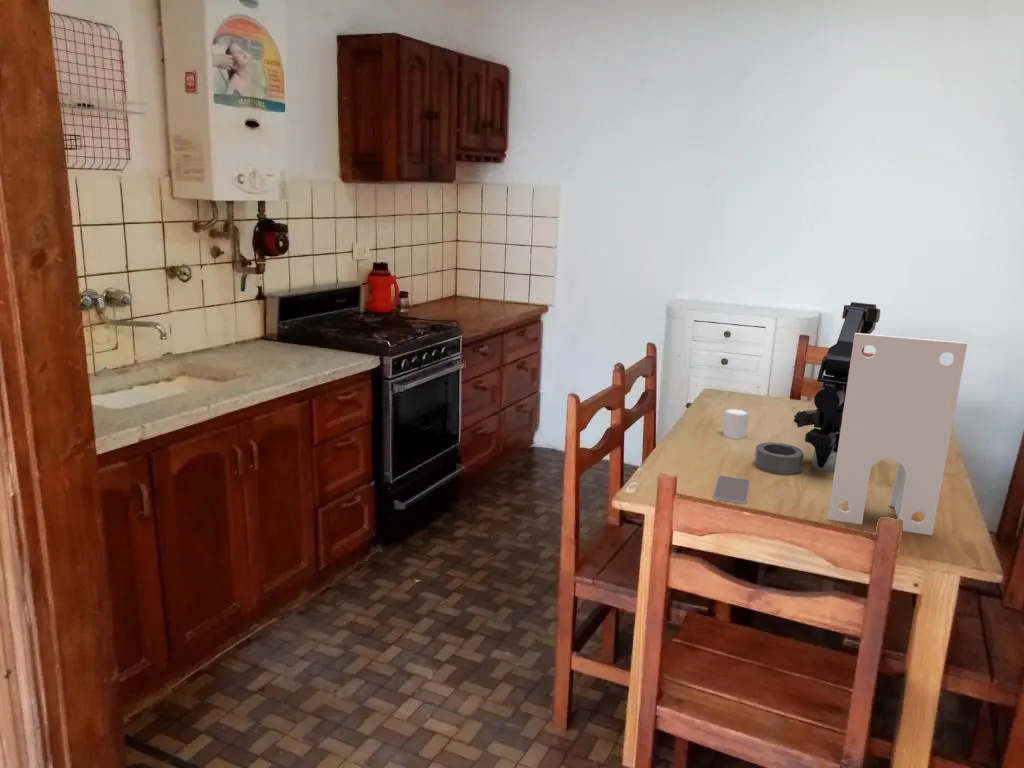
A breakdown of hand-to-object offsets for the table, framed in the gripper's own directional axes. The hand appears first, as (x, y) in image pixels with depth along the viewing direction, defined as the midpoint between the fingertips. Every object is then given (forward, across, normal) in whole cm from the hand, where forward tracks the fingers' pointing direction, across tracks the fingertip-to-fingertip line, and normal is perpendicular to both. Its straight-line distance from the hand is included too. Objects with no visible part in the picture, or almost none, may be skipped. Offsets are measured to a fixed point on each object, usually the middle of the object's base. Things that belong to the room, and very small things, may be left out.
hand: (825, 463), depth 202 cm
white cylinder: (+1, -8, -28) cm, 29 cm away
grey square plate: (+2, +31, -11) cm, 33 cm away
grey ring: (+1, +8, -9) cm, 12 cm away
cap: (+1, 0, 0) cm, 1 cm away
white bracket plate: (+1, +22, +18) cm, 28 cm away
